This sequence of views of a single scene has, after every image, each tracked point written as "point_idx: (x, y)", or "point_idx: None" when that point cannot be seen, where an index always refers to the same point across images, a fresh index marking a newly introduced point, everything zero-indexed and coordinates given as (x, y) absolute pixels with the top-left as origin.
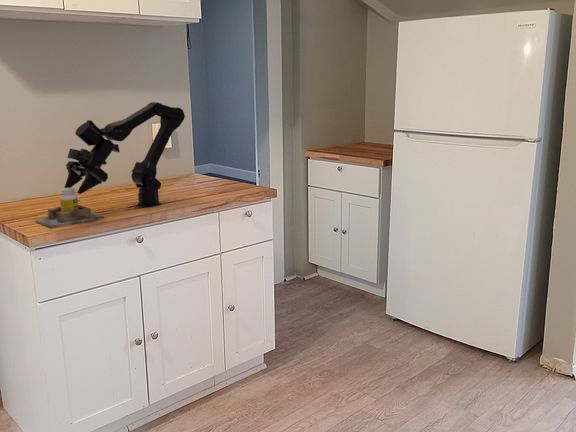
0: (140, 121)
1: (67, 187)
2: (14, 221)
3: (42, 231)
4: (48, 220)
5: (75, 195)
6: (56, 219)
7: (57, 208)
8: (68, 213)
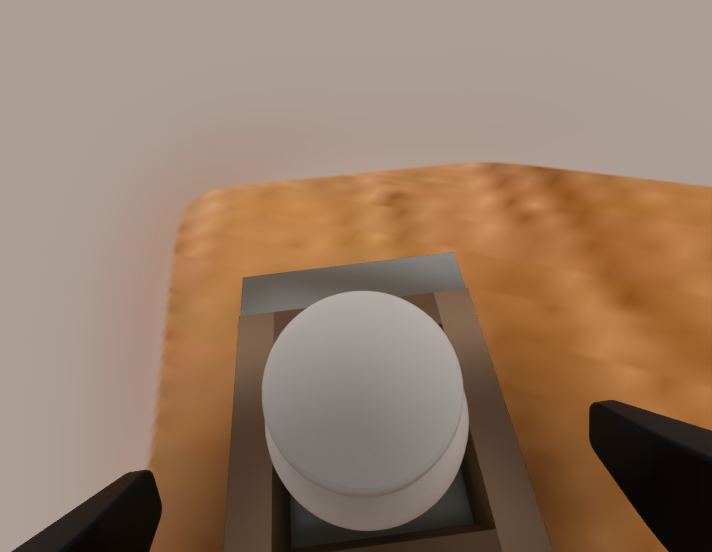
0: None
1: (626, 459)
2: (517, 194)
3: (228, 241)
4: None
5: (304, 485)
6: None
7: None
8: (237, 372)
